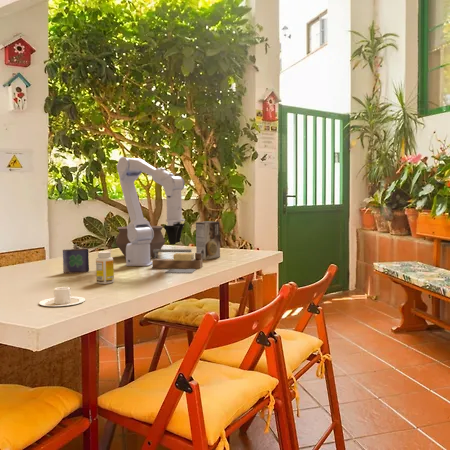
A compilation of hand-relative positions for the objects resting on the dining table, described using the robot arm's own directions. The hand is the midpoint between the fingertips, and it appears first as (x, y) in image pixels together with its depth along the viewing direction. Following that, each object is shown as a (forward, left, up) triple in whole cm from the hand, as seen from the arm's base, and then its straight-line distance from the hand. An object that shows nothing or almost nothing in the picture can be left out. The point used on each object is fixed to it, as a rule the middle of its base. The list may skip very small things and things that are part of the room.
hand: (174, 243), depth 191 cm
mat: (+4, -6, -10) cm, 12 cm away
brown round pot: (-24, +35, -10) cm, 44 cm away
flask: (-35, -10, -10) cm, 38 cm away
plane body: (0, +4, -10) cm, 11 cm away
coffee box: (+8, +32, -10) cm, 34 cm away
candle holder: (-17, -59, -10) cm, 63 cm away
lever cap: (+3, +4, -7) cm, 8 cm away
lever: (-2, +4, -6) cm, 8 cm away
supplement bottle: (-16, -30, -10) cm, 36 cm away
